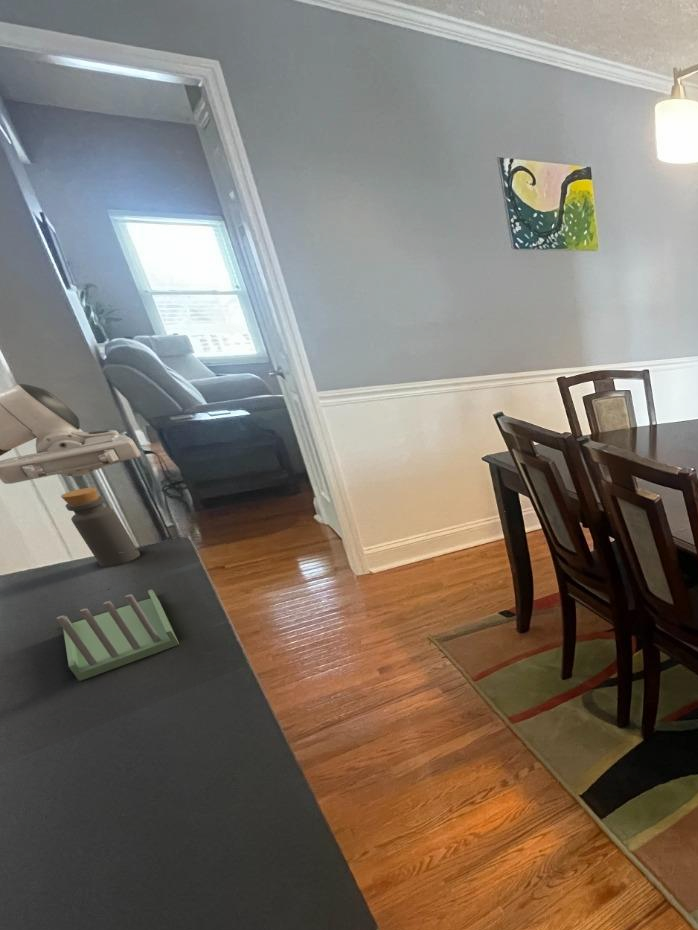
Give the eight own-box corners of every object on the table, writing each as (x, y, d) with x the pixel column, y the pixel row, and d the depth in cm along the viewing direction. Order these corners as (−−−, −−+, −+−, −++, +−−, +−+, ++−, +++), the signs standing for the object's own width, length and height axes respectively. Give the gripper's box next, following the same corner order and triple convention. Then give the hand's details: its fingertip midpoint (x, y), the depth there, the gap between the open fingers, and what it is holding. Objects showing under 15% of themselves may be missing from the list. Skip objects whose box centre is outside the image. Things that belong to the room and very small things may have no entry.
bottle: (94, 569, 115) (47, 497, 108) (128, 555, 120) (86, 485, 113) (116, 571, 114) (70, 498, 107) (149, 557, 119) (108, 487, 112)
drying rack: (79, 681, 83) (39, 627, 79) (70, 631, 95) (35, 581, 91) (179, 644, 91) (148, 593, 86) (159, 602, 103) (131, 555, 98)
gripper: (-15, 452, 116) (-17, 466, 108) (125, 427, 130) (132, 438, 121) (6, 483, 119) (6, 498, 111) (140, 455, 133) (149, 467, 124)
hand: (73, 466), depth 116 cm, fingers open, 8 cm apart
